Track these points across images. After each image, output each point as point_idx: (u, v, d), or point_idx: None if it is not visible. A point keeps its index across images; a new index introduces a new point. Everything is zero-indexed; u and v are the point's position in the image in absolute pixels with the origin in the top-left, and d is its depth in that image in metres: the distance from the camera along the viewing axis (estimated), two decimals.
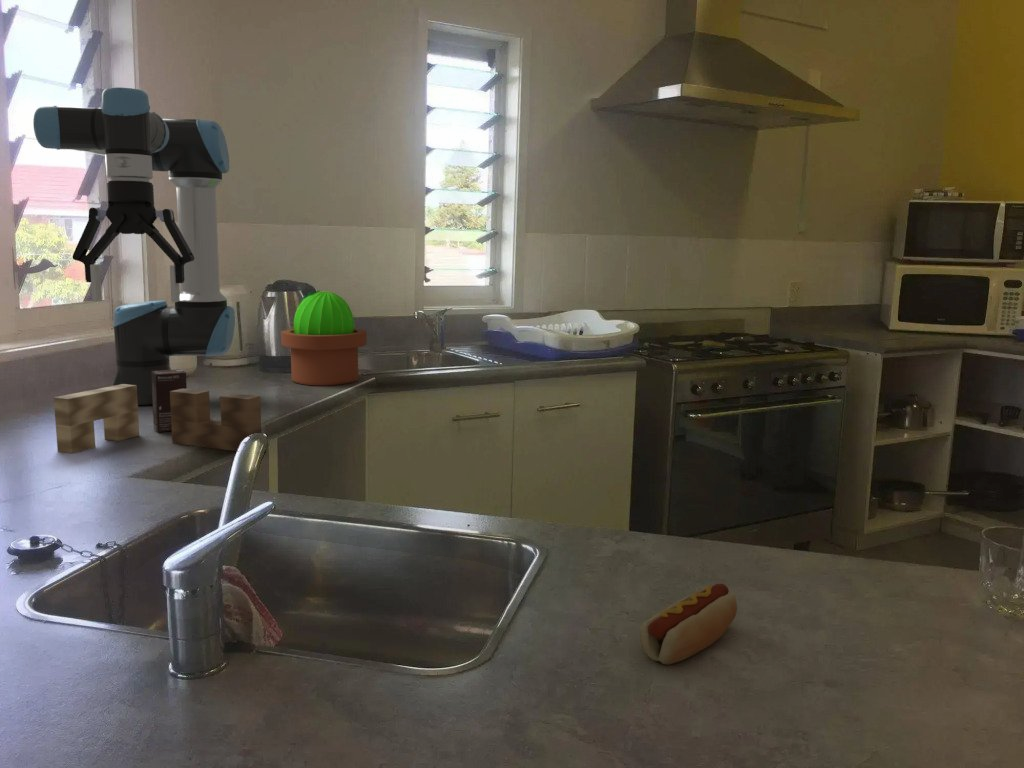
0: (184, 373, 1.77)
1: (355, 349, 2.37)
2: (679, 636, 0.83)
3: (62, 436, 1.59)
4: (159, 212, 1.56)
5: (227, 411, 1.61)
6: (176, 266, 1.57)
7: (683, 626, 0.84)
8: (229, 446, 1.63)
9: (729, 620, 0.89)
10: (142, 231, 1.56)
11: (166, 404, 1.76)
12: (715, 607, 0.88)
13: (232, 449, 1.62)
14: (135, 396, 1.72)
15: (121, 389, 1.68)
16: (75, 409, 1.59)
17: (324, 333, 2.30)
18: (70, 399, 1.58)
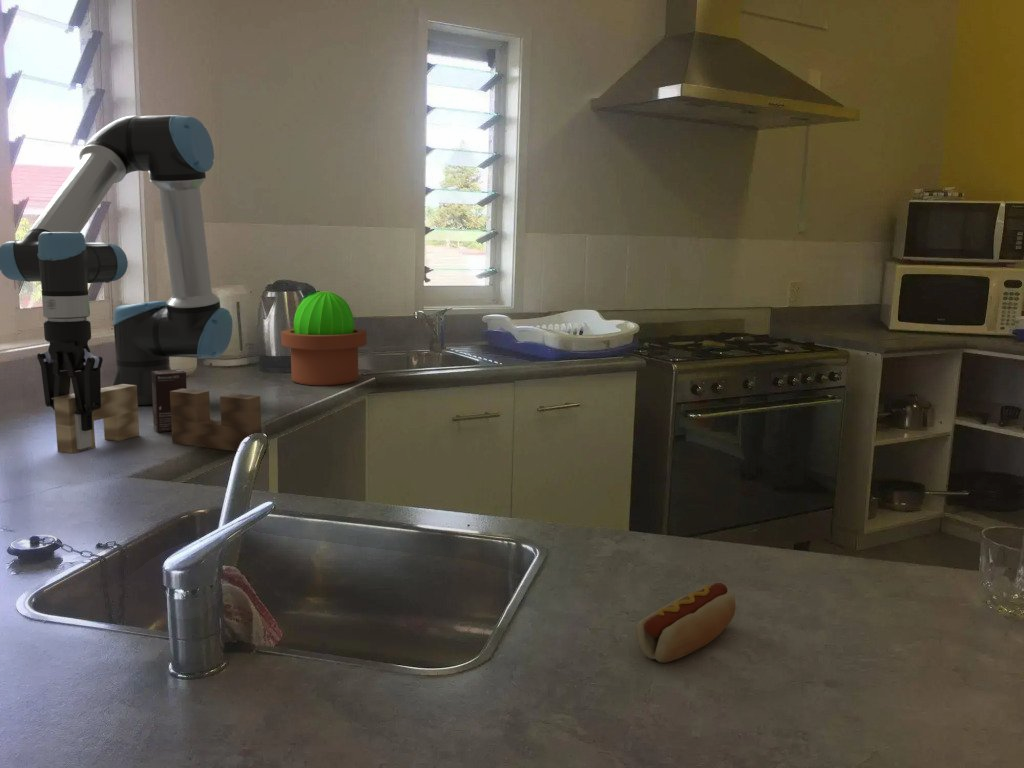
0: (184, 373, 1.77)
1: (355, 349, 2.37)
2: (675, 634, 0.83)
3: (62, 436, 1.59)
4: (87, 356, 1.57)
5: (227, 411, 1.61)
6: (81, 414, 1.59)
7: (679, 624, 0.84)
8: (229, 446, 1.63)
9: (727, 619, 0.89)
10: (74, 369, 1.58)
11: (166, 404, 1.76)
12: (712, 607, 0.88)
13: (232, 449, 1.62)
14: (135, 396, 1.72)
15: (121, 389, 1.68)
16: (75, 409, 1.59)
17: (324, 333, 2.30)
18: (70, 399, 1.58)
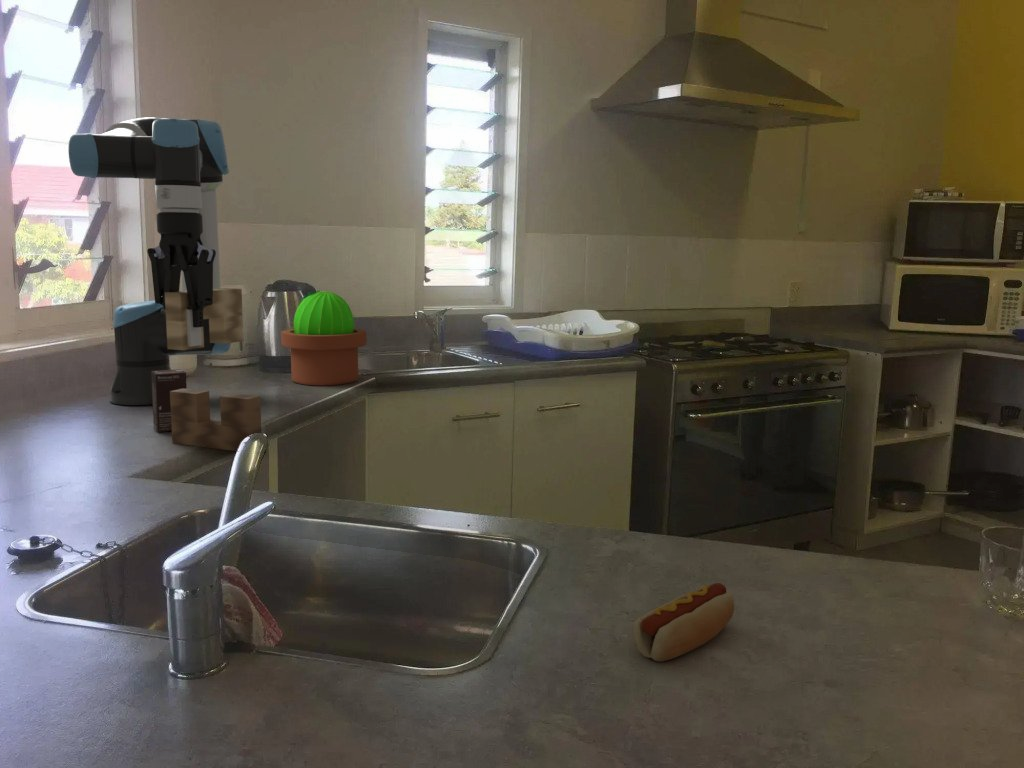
0: (184, 373, 1.77)
1: (355, 349, 2.37)
2: (671, 633, 0.83)
3: (173, 333, 1.55)
4: (200, 249, 1.52)
5: (227, 411, 1.61)
6: (193, 310, 1.55)
7: (675, 623, 0.84)
8: (229, 446, 1.63)
9: (725, 619, 0.89)
10: (186, 262, 1.53)
11: (166, 404, 1.76)
12: (710, 606, 0.88)
13: (232, 449, 1.62)
14: (240, 299, 1.67)
15: (228, 290, 1.64)
16: (187, 305, 1.55)
17: (324, 333, 2.30)
18: (182, 294, 1.53)
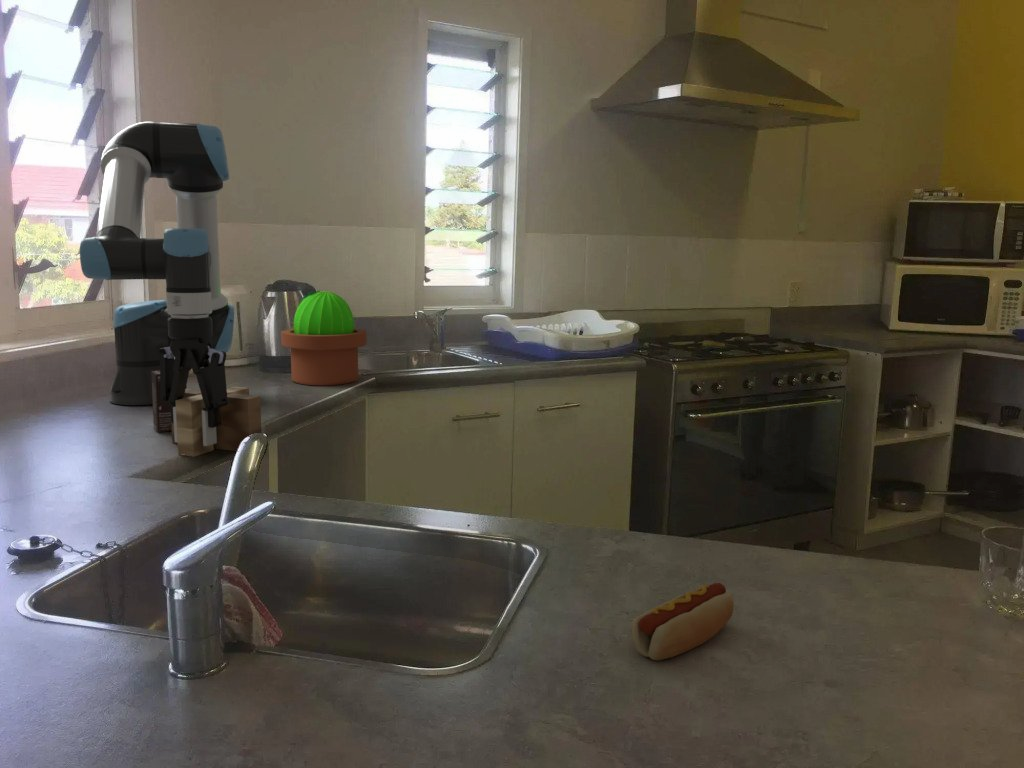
0: None
1: (355, 349, 2.37)
2: (668, 632, 0.83)
3: (183, 439, 1.58)
4: (211, 352, 1.56)
5: (227, 411, 1.61)
6: (208, 411, 1.57)
7: (673, 623, 0.84)
8: (229, 446, 1.63)
9: (724, 619, 0.89)
10: None
11: (166, 404, 1.76)
12: (709, 606, 0.88)
13: (232, 449, 1.62)
14: None
15: (236, 392, 1.67)
16: (197, 412, 1.58)
17: (324, 333, 2.30)
18: (193, 402, 1.57)
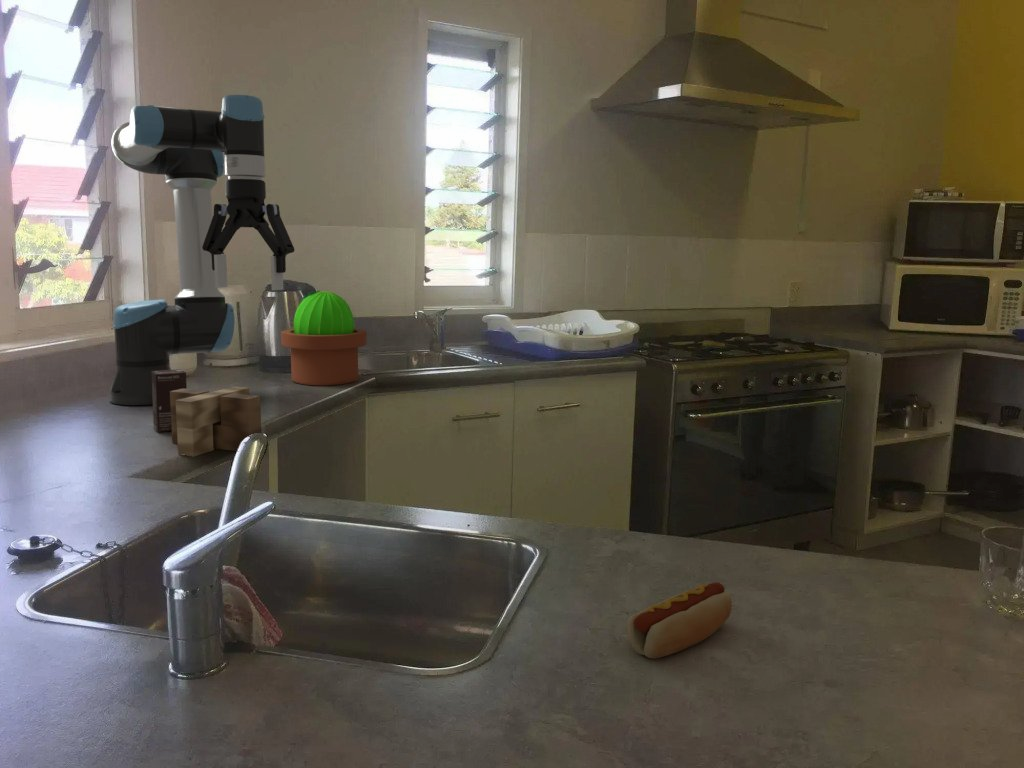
0: (184, 373, 1.77)
1: (355, 349, 2.37)
2: (663, 630, 0.84)
3: (183, 439, 1.58)
4: (265, 207, 1.70)
5: (227, 411, 1.61)
6: (277, 257, 1.70)
7: (668, 621, 0.85)
8: (229, 446, 1.63)
9: (721, 618, 0.90)
10: (251, 225, 1.71)
11: (166, 404, 1.76)
12: (706, 605, 0.89)
13: (232, 449, 1.62)
14: None
15: (236, 392, 1.67)
16: (197, 412, 1.58)
17: (324, 333, 2.30)
18: (193, 402, 1.57)
